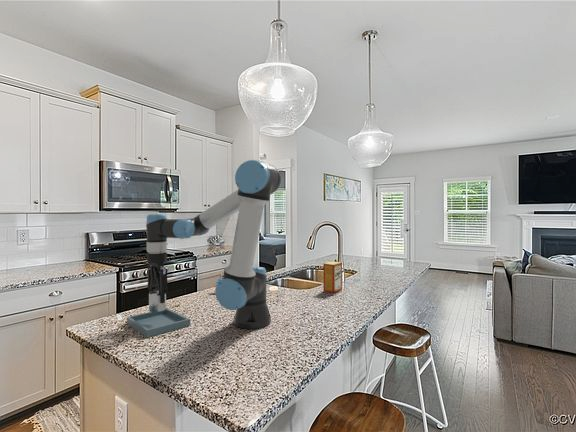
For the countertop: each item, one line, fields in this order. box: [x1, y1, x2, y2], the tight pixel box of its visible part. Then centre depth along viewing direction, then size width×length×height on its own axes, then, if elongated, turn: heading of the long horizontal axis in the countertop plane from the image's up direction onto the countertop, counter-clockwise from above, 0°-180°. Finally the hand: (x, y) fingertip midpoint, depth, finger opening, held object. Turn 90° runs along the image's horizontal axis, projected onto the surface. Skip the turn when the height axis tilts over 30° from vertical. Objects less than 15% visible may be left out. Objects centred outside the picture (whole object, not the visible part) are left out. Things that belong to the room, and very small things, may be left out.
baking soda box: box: [322, 261, 343, 294], centre depth 183 cm, size 10×6×16 cm
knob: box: [148, 290, 167, 312], centre depth 131 cm, size 6×6×7 cm
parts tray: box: [126, 307, 191, 339], centre depth 132 cm, size 21×17×3 cm
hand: (157, 308), depth 131 cm, fingers closed on knob, 6 cm apart
